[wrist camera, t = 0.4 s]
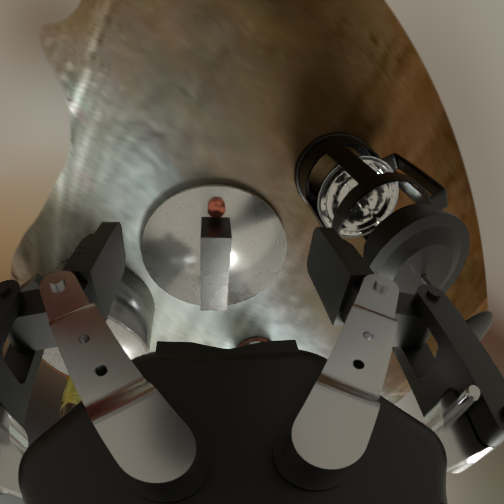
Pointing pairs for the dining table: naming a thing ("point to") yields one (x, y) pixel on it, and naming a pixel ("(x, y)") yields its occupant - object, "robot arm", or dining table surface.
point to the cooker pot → (116, 317)
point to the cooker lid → (213, 245)
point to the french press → (389, 216)
